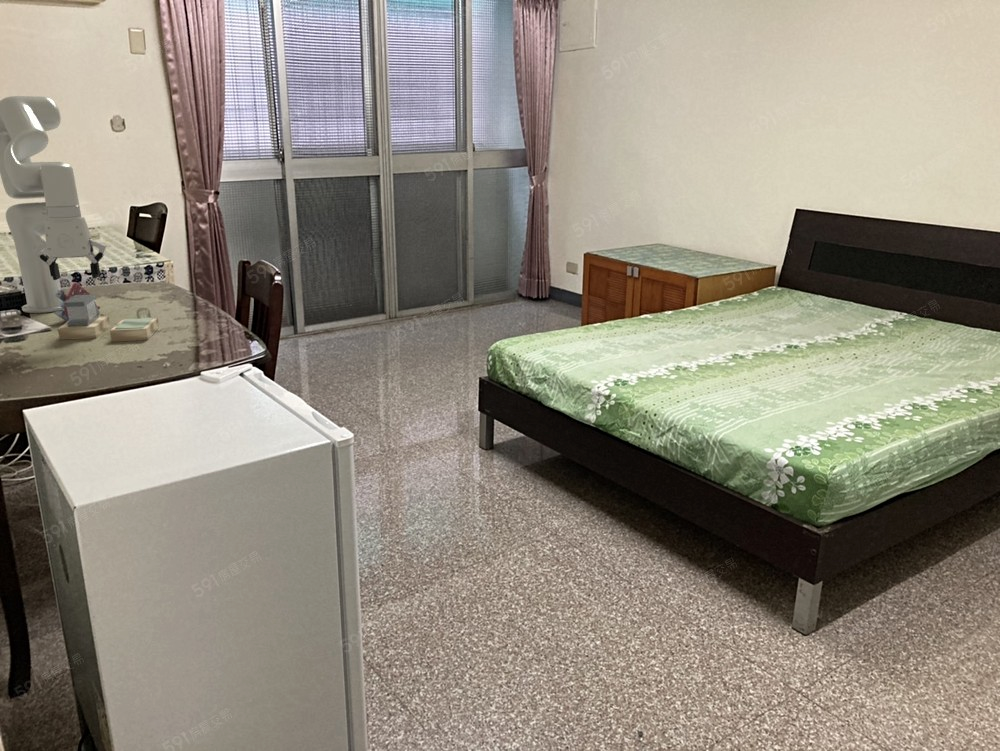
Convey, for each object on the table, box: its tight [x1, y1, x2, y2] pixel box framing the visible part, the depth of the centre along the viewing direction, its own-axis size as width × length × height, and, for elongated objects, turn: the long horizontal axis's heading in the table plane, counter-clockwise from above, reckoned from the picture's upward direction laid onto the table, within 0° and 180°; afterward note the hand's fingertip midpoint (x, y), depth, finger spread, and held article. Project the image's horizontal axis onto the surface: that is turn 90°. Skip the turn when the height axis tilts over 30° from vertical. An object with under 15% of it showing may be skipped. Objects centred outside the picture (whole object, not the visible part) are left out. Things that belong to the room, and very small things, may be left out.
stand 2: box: [109, 317, 160, 342], centre depth 205 cm, size 12×9×3 cm
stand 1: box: [57, 315, 111, 341], centre depth 207 cm, size 12×9×3 cm
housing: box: [64, 293, 100, 327], centre depth 205 cm, size 9×5×7 cm, turn 10°
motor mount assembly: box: [53, 281, 101, 323], centre depth 220 cm, size 11×11×12 cm
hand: (76, 278), depth 202 cm, fingers open, 9 cm apart
